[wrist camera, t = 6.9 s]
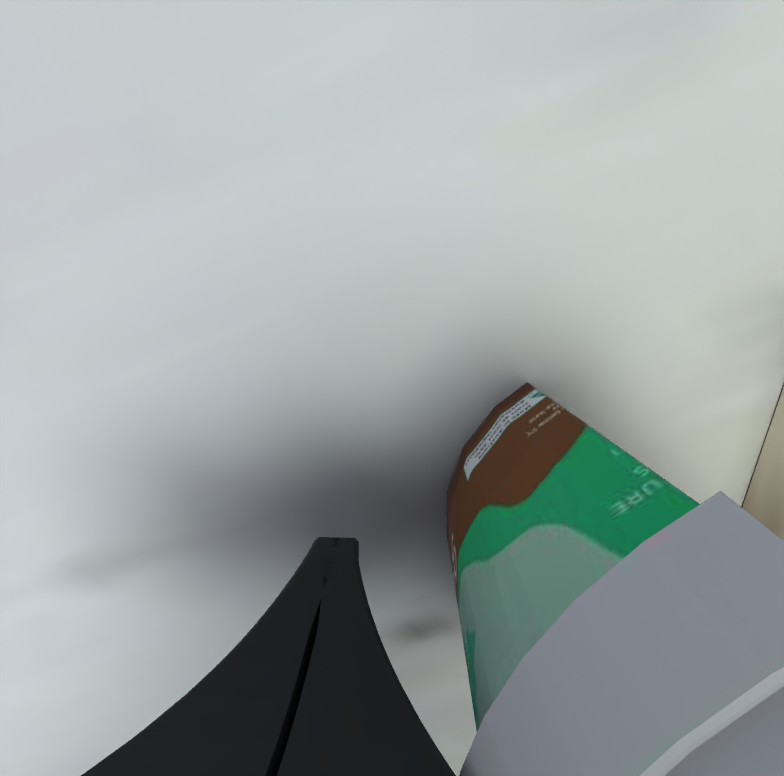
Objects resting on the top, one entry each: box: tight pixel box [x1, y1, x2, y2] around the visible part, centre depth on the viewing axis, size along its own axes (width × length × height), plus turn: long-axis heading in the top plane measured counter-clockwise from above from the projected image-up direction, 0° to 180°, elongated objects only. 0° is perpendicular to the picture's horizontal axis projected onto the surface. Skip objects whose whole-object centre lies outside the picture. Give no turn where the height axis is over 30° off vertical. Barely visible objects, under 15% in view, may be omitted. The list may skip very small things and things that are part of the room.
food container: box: [447, 382, 784, 776], centre depth 9 cm, size 12×6×10 cm, turn 35°
